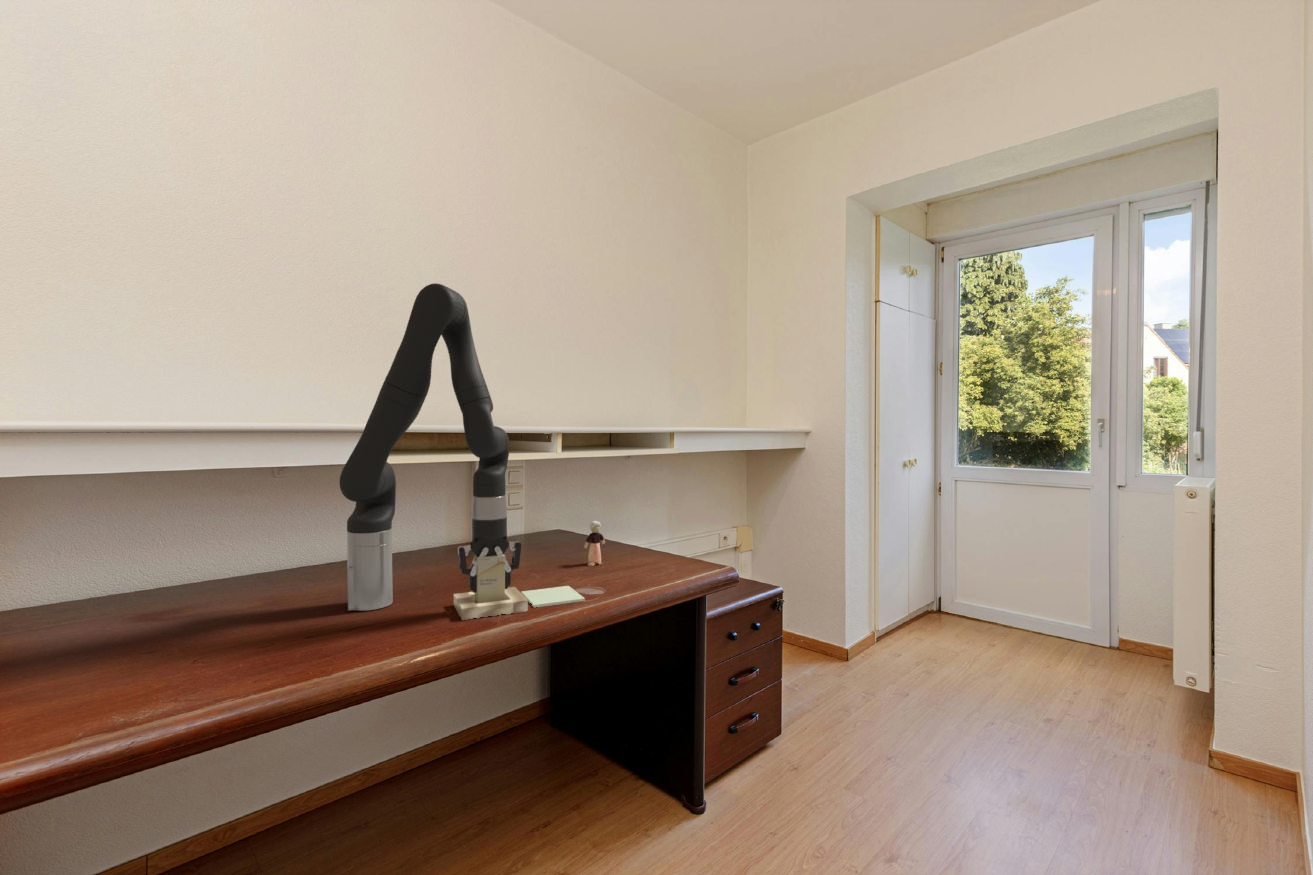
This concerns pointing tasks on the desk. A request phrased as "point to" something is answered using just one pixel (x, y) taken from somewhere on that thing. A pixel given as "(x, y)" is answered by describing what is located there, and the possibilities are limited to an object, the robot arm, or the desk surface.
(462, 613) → the pocket holder
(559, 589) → the pad
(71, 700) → the desk surface
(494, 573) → the skincare box
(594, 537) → the grandmother figurine
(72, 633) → the desk surface
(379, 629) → the desk surface
